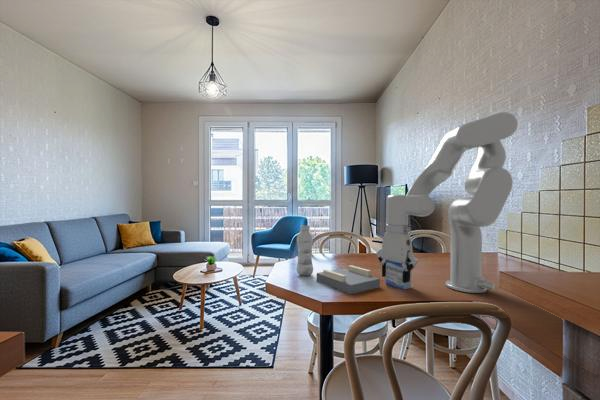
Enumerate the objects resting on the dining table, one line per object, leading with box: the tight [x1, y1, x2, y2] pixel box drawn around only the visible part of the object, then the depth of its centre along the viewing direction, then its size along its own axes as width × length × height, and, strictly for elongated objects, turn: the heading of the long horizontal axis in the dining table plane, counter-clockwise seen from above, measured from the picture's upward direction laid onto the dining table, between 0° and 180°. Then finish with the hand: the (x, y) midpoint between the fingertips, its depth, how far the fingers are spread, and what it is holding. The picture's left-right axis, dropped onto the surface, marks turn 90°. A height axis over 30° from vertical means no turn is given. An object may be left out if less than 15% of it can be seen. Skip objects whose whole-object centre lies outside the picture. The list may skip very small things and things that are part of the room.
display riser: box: [316, 264, 381, 295], centre depth 103 cm, size 18×14×5 cm
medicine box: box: [385, 260, 412, 290], centre depth 102 cm, size 8×4×9 cm, turn 35°
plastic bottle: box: [296, 224, 314, 277], centre depth 115 cm, size 6×7×20 cm
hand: (395, 278), depth 101 cm, fingers closed on medicine box, 8 cm apart
